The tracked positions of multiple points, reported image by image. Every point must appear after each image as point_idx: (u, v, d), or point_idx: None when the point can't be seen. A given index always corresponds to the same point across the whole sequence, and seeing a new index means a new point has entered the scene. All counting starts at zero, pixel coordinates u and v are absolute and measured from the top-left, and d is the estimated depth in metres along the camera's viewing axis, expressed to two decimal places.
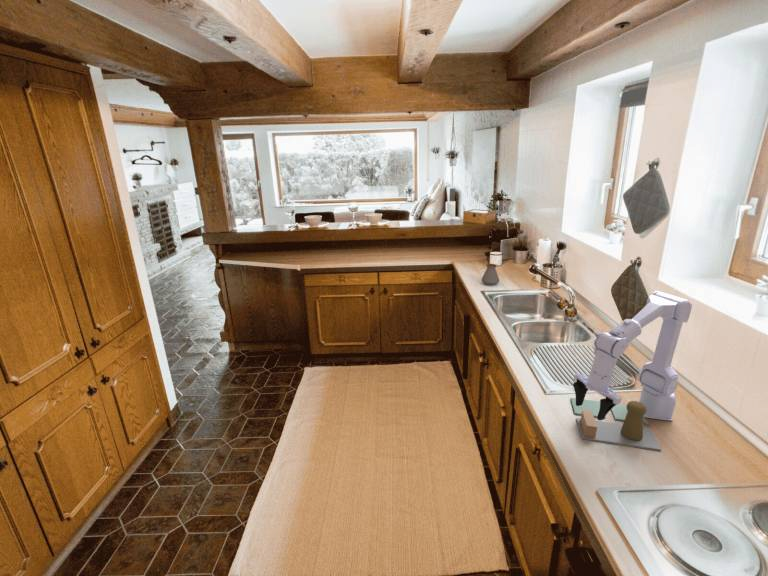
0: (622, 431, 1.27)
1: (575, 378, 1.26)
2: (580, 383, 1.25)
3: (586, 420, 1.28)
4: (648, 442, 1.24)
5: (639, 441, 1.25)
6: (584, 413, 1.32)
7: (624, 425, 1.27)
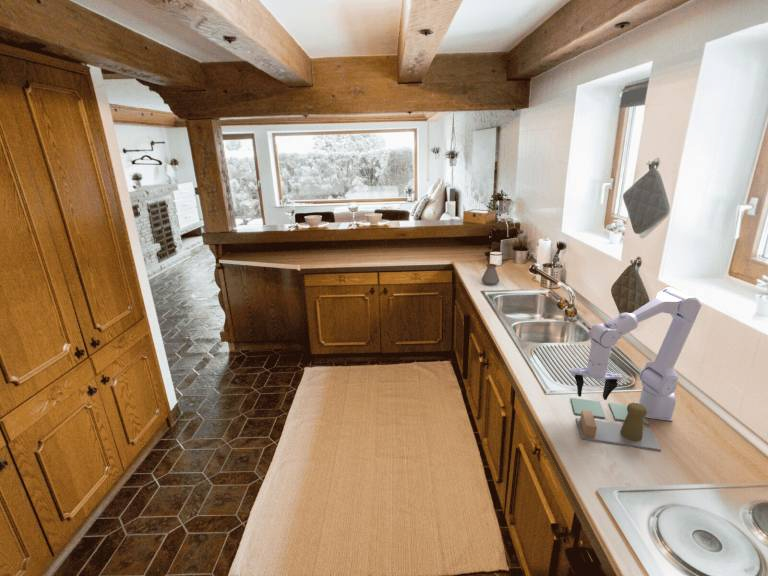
0: (622, 432, 1.27)
1: (573, 374, 1.31)
2: (579, 377, 1.31)
3: (586, 420, 1.28)
4: (648, 442, 1.24)
5: (639, 441, 1.25)
6: (584, 413, 1.32)
7: (624, 426, 1.27)
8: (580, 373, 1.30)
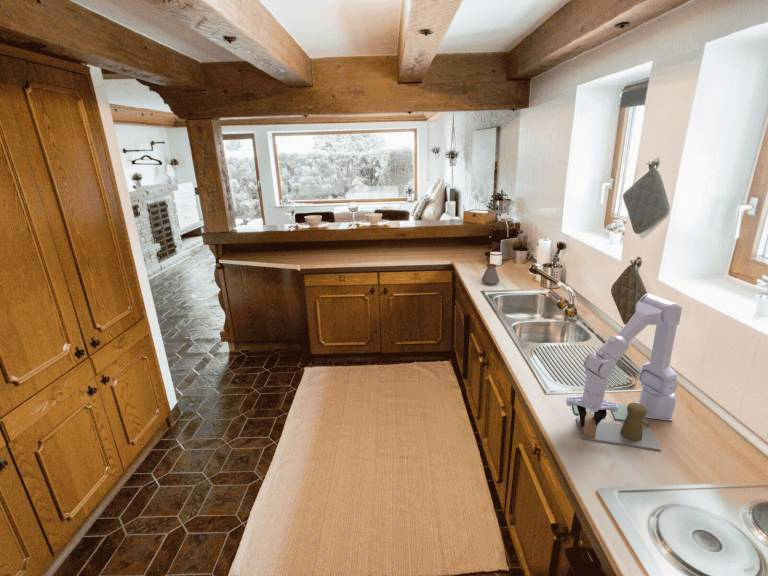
0: (622, 432, 1.27)
1: (569, 404, 1.28)
2: None
3: (586, 420, 1.28)
4: (648, 442, 1.24)
5: (639, 441, 1.25)
6: None
7: (624, 426, 1.27)
8: (576, 403, 1.27)
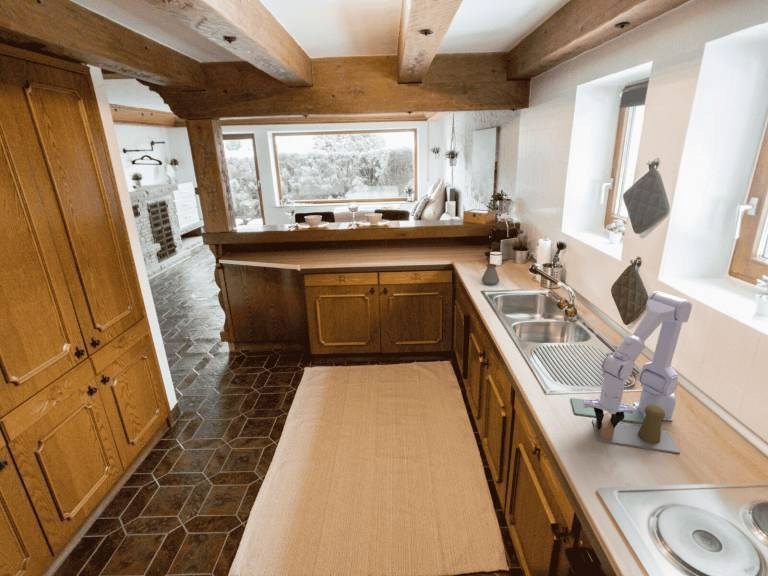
0: (639, 434, 1.26)
1: (586, 406, 1.27)
2: None
3: (603, 422, 1.27)
4: (666, 445, 1.23)
5: (657, 444, 1.23)
6: None
7: (641, 429, 1.25)
8: (593, 405, 1.26)
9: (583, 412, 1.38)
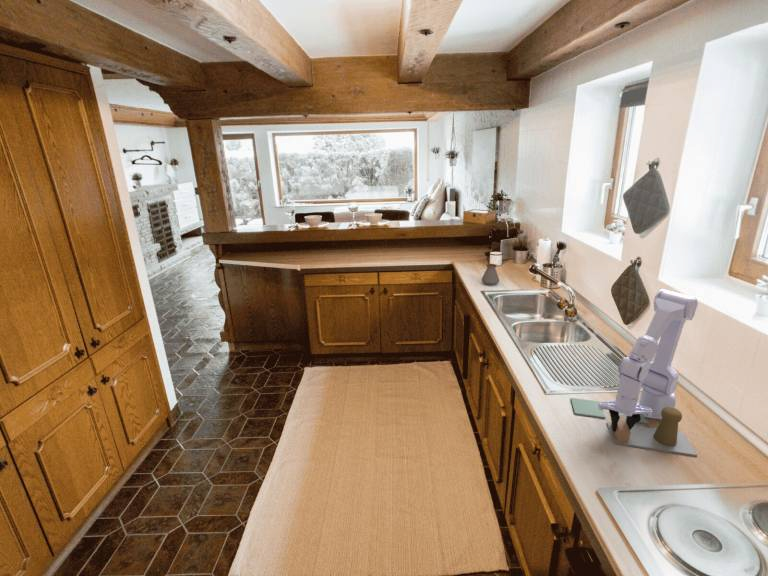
0: (655, 437, 1.25)
1: (601, 408, 1.26)
2: None
3: (618, 425, 1.26)
4: (683, 447, 1.22)
5: (673, 446, 1.22)
6: None
7: (658, 431, 1.24)
8: (608, 407, 1.25)
9: (583, 412, 1.38)
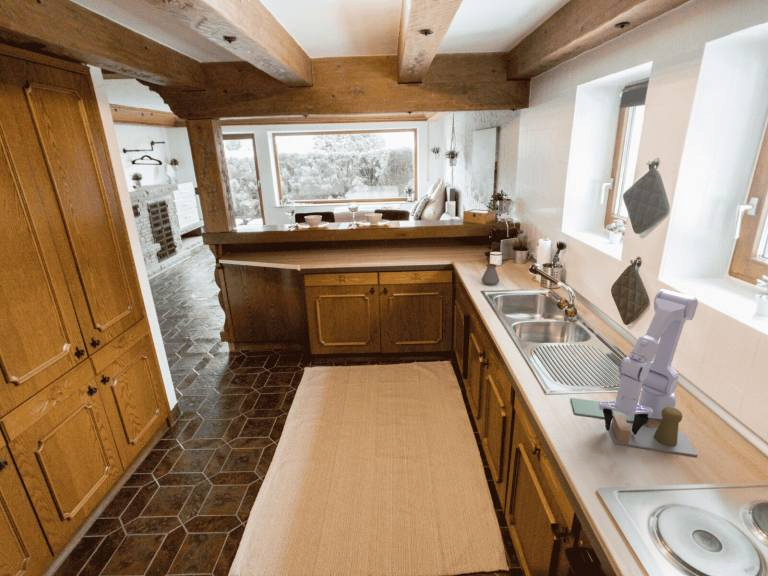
0: (656, 437, 1.25)
1: (602, 408, 1.26)
2: (608, 410, 1.26)
3: (619, 425, 1.26)
4: (683, 447, 1.22)
5: (674, 446, 1.22)
6: (616, 417, 1.29)
7: (658, 431, 1.24)
8: (609, 407, 1.25)
9: (583, 412, 1.38)
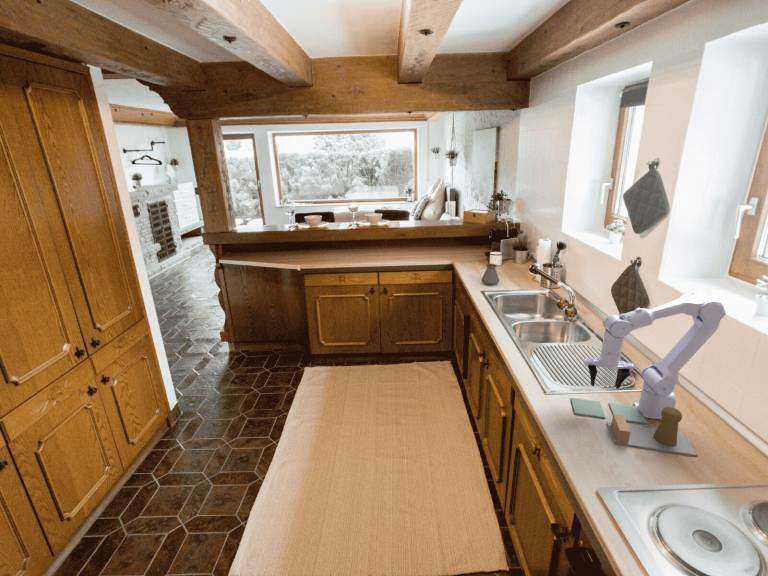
0: (655, 437, 1.25)
1: (587, 364, 1.36)
2: (593, 366, 1.36)
3: (618, 425, 1.26)
4: (683, 447, 1.22)
5: (673, 446, 1.22)
6: (616, 417, 1.29)
7: (658, 431, 1.24)
8: (593, 363, 1.35)
9: (583, 412, 1.38)
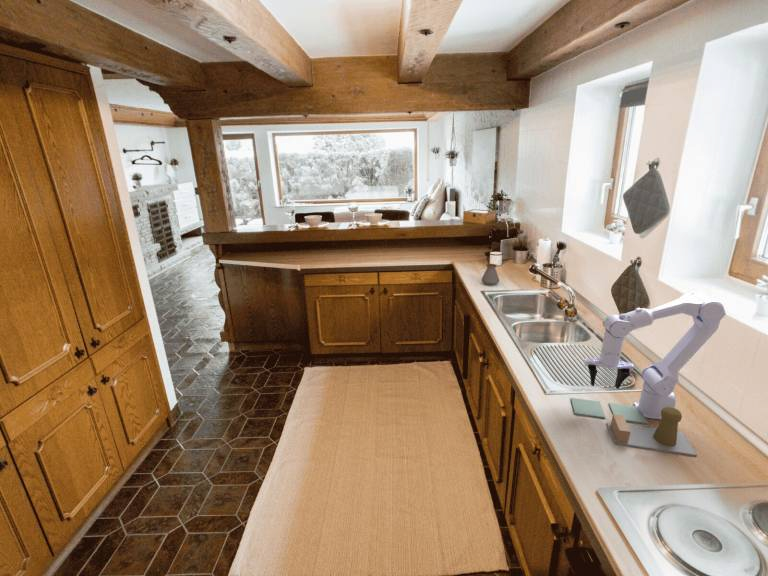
0: (655, 437, 1.25)
1: (587, 364, 1.36)
2: (593, 366, 1.36)
3: (618, 425, 1.26)
4: (682, 447, 1.22)
5: (673, 446, 1.22)
6: (615, 417, 1.29)
7: (657, 431, 1.24)
8: (593, 363, 1.35)
9: (583, 412, 1.38)
